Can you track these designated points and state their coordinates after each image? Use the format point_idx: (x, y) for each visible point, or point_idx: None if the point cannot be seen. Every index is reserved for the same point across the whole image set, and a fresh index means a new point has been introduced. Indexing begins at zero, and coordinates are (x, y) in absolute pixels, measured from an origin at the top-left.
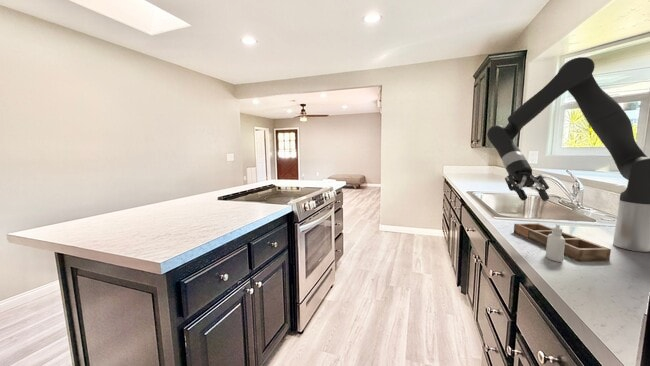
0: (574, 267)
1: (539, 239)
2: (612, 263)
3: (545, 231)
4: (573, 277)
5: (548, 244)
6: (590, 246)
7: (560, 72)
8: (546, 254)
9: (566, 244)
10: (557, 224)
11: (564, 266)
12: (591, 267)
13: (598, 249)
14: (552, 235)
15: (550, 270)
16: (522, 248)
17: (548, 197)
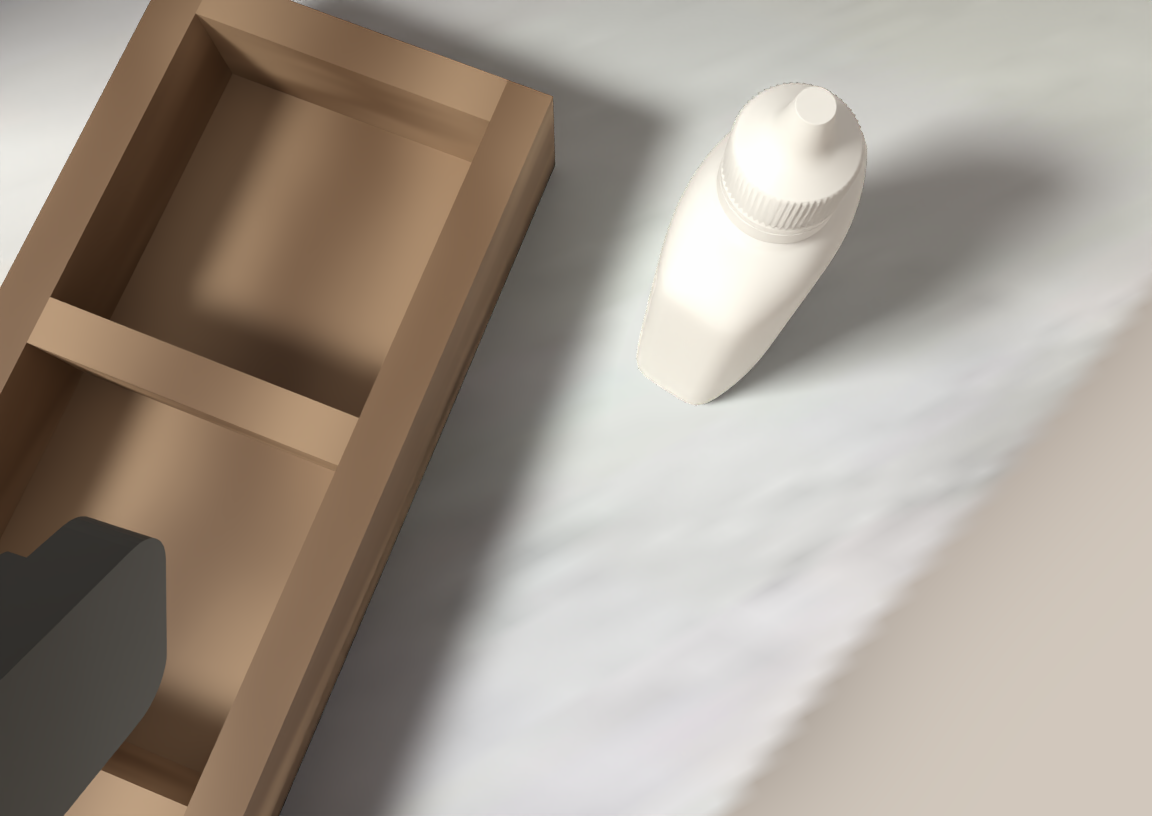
0: None
1: (320, 686)
2: None
3: None
4: (1028, 2)
5: (791, 314)
6: (142, 170)
7: None
8: (747, 371)
9: (477, 260)
10: (832, 104)
11: None
12: (601, 40)
13: (319, 13)
14: (834, 221)
15: (1080, 164)
16: (731, 675)
17: (76, 531)
